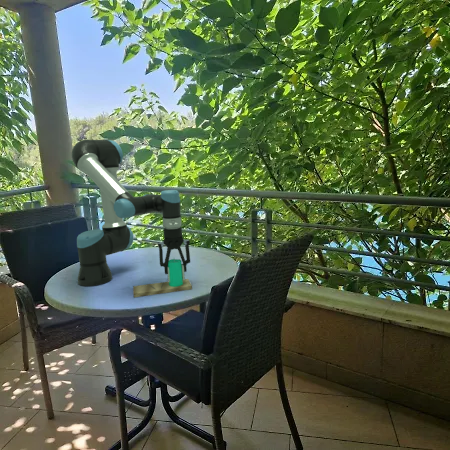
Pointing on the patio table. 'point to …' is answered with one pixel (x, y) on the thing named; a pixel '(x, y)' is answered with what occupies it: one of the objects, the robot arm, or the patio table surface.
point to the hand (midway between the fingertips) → (176, 279)
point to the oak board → (159, 288)
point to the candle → (175, 272)
